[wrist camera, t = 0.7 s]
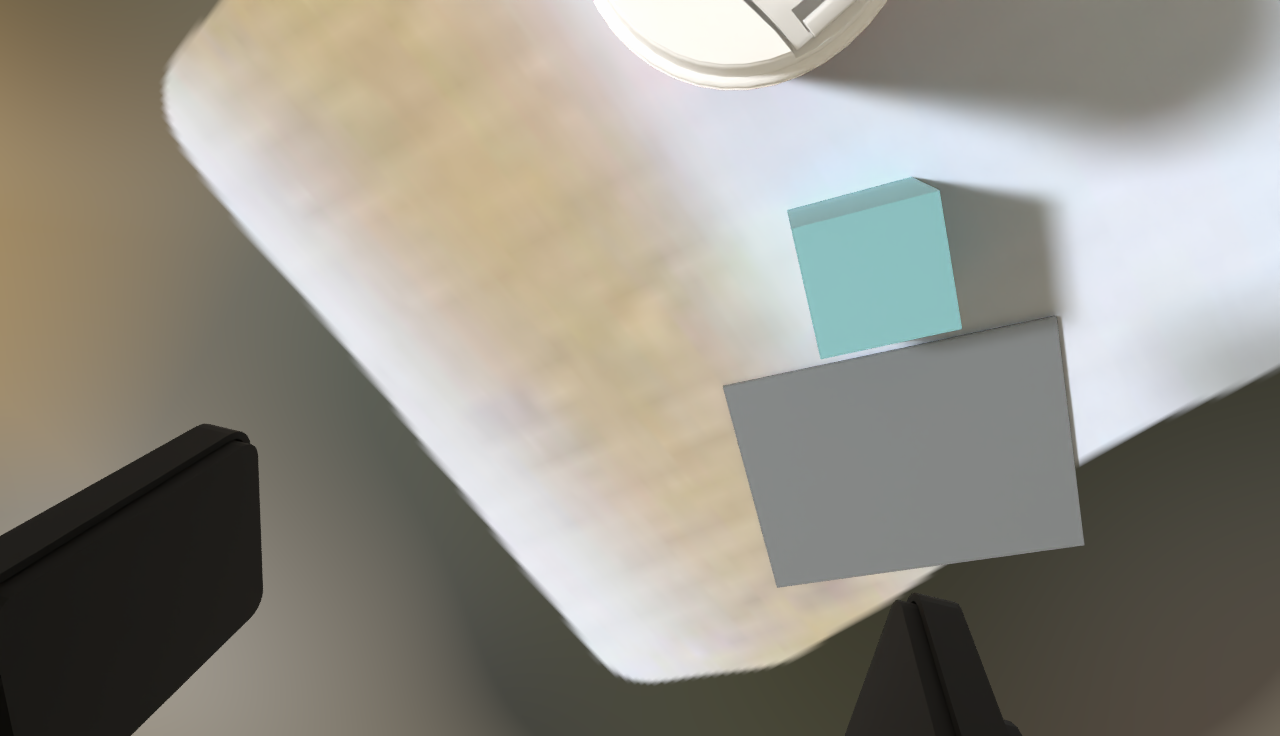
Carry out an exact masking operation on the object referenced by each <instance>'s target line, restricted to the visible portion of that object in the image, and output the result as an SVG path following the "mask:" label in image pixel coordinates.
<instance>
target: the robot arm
mask: <svg viewBox="0 0 1280 736" xmlns="http://www.w3.org/2000/svg"><path fill="white" fill-rule="evenodd" d="M260 526H261V525H260V500H259V471H258V453H257V449H256V448H255V446H253V445H252V444H250V440H249V438H248V437H247V435H246V434H244V433H243V432H240V431H236V430H232V429H227V428H223V427H219V426H215V425H211V424H202V425H199V426H196V427H195V428H193V429H191V430H189V431H187V432H185V433H184V434H182V435H180V436H178V437H177V438H175V439H173V440H171V441H169V442H168V443H166V444H164V445H162V446H160V447H159V448H157V449H155V450H153V451H151V452H150V453H148V454H146V455H144V456H143V457H141V458H139V459H137V460H136V461H134V462H132V463H130V464H128V465H126V466H125V467H123V468H121V469H119V470H118V471H116V472H114V473H112V474H110V475H109V476H107V477H105V478H103V479H101V480H100V481H98V482H96V483H94V484H92V485H91V486H89V487H87V488H85V489H84V490H82V491H80V492H78V493H76V494H75V495H73V496H71V497H69V498H68V499H66V500H64V501H62V502H60V503H58V504H57V505H55V506H53V507H51V508H49V509H48V510H46V511H44V512H43V513H41V514H39V515H37V516H35V517H33V518H32V519H30V520H28V521H26V522H25V523H23V524H21V525H19V526H17V527H16V528H14V529H12V530H10V531H8V532H7V533H5V534H3V535H1V536H0V736H131V735H132V734H133V733H134V732H135V731H136V730H137V729H138V728H139V727H140V726H141V725H142V724H143V723H144V722H145V721H146V720H147V719H148V718H149V717H150V716H151V715H152V714H153V713H154V712H155V711H156V710H157V709H158V708H159V707H160V706H161V705H162V704H163V703H164V702H165V701H166V700H167V699H168V698H170V696H172V695H173V693H174V692H176V691H177V690H178V689H179V688H180V687H181V686H182V685H183V683H185V682H186V681H187V680H188V679H189V678H190V677H191V676H192V675H193V674H194V673H195V672H196V671H197V670H198V669H199V668H200V667H201V666H202V665H203V664H204V663H205V662H206V661H207V660H208V659H209V658H210V657H211V656H212V655H213V654H214V653H215V652H216V651H217V650H218V649H219V648H220V647H221V646H222V645H223V644H224V643H225V642H226V641H227V640H228V639H229V638H230V637H231V636H232V635H233V634H234V633H236V632H237V630H238V629H240V628H241V627H242V626H243V625H244V624H245V623H246V622H247V621H248V620H249V619H250V618H251V617H252V615H253V614H254V613H255V611H256V610H257V608H258V606H259V603H260V602H261V598H262V594H263V580H262V553H261V552H262V551H261V527H260ZM845 736H1022V735H1021V733H1020V731H1019V729H1018V727H1016V726H1015V725H1014V724H1013V723H1012V722H1010V721H1007V720H1003V718H1002V715H1001V712H1000V710H999V707H998V705H997V702H996V699H995V696H994V694H993V691H992V688H991V686H990V683H989V681H988V678H987V675H986V673H985V670H984V667H983V665H982V662H981V659H980V657H979V654H978V651H977V649H976V646H975V644H974V641H973V638H972V636H971V633H970V631H969V628H968V625H967V622H966V620H965V618H964V615H963V612H962V610H961V608H960V606H959V604H957V603H955V602H951V601H947V600H943V599H939V598H935V597H930V596H927V595H922V594H918V593H913V594H911V595H910V596H909V598H908V600H907V602H904V601H901V600H896V601H895V602H894V603H893V605H892V607H891V609H890V612H889V615H888V617H887V620H886V623H885V626H884V629H883V631H882V634H881V637H880V639H879V642H878V645H877V648H876V651H875V654H874V656H873V659H872V662H871V664H870V667H869V670H868V673H867V675H866V678H865V681H864V684H863V686H862V689H861V692H860V695H859V698H858V700H857V703H856V706H855V709H854V711H853V714H852V717H851V720H850V722H849V725H848V728H847V731H846V733H845Z"/></svg>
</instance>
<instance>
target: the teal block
mask: <svg viewBox="0 0 1280 736" xmlns="http://www.w3.org/2000/svg"><path fill="white" fill-rule="evenodd" d="M787 211H788V216H789V221H790V225H791V230H792V234H793V239H794V243H795V248H796V252H797V256H798V261H799V265H800V270H801V274H802V279H803V283H804V287H805V292H806V296H807V301H808V305H809V310H810V314H811V318H812V323H813V327H814V332H815V336H816V341H817V345H818V349H819V354H820V358H821V359H824V358H829V357H834V356H838V355H843V354H848V353H852V352H857V351H862V350H866V349H871V348H876V347H880V346H885V345H890V344H894V343H899V342H904V341H908V340H913V339H918V338H922V337H927V336H932V335H936V334H941V333H946V332H950V331H955V330H960V329H962V325H961V319H960V313H959V307H958V300H957V294H956V288H955V282H954V276H953V270H952V264H951V257H950V251H949V245H948V239H947V233H946V227H945V221H944V214H943V208H942V202H941V196H940V190H938V189H936V188H934V187H932V186H930V185H927V184H925V183H923V182H921V181H919V180H917V179H915V178H913V177H910V178H906V179H902V180H899V181H895V182H891V183H887V184H884V185H880V186H876V187H872V188H869V189H865V190H861V191H857V192H854V193H850V194H846V195H842V196H839V197H835V198H831V199H828V200H824V201H820V202H816V203H813V204H809V205H805V206H801V207H798V208H794V209H790V210H787Z"/></svg>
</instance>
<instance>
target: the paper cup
mask: <svg viewBox="0 0 1280 736" xmlns="http://www.w3.org/2000/svg"><path fill="white" fill-rule="evenodd" d="M593 1H594V3H595V5H596V7H597V9H598V11H599V12H600V14H601V15H602V16H603V18H604V19H605V21H606V22H607V24H608V25H609V27H610V28H611V30H612V31H613V32H614V33H615V34H616V35H617V36H618V38H619V39H620V40H621V41H622V42H623V43H624V44H625V45H626V46H627V47H628V48H629V49H630V50H631V51H632V52H633V53H635V54H636V55H637V56H638V57H640V58H641V59H642V60H644V61H645V62H646V63H647V64H649V65H650V66H652V67H653V68H655V69H657V70H659V71H661V72H663V73H665V74H666V75H668V76H670V77H672V78H674V79H677V80H680V81H683V82H686V83H689V84H692V85H695V86H698V87H705V88H711V89H718V90H751V89H757V88H762V87H768V86H773V85H777V84H779V83H782V82H785V81H788V80H791V79H794V78H796V77H799V76H801V75H803V74H805V73H807V72H809V71H811V70H813V69H814V68H816V67H818V66H820V65H822V64H824V63H825V62H827V61H828V60H829V59H831V58H832V57H833V56H835V55H836V54H837V53H839V52H840V51H841V50H843V49H844V48H845V47H847V46H848V45H849V44H850V43H851V42H852V41H853V40H854V39H855V38H856V37H857V36H858V35H859V34H860V33H861V32H862V31H863V30H864V29H865V28H866V27H867V26H868V25H869V24H870V23H871V22H872V20H873V19H874V18H875V17H876V15H877V14H878V13H879V11H880V10H881V9H882V7H883V6H884V5H885V3H886V2H887V1H888V0H593Z"/></svg>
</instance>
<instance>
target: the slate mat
mask: <svg viewBox="0 0 1280 736" xmlns="http://www.w3.org/2000/svg"><path fill="white" fill-rule="evenodd" d="M723 389H724V393H725V397H726V400H727V404H728V408H729V411H730V415H731V419H732V423H733V426H734V430H735V434H736V437H737V441H738V445H739V448H740V452H741V456H742V460H743V463H744V467H745V471H746V474H747V478H748V482H749V485H750V489H751V493H752V497H753V500H754V504H755V508H756V511H757V515H758V519H759V522H760V526H761V530H762V534H763V537H764V541H765V545H766V548H767V552H768V556H769V559H770V563H771V567H772V571H773V574H774V578H775V582H776V585H777V588H778V587H785V586H793V585H800V584H807V583H814V582H821V581H829V580H836V579H843V578H850V577H858V576H865V575H872V574H879V573H886V572H894V571H901V570H908V569H915V568H922V567H930V566H937V565H944V564H951V563H958V562H965V561H973V560H980V559H987V558H994V557H1002V556H1009V555H1016V554H1023V553H1030V552H1038V551H1044V550H1052V549H1059V548H1067V547H1073V546H1081V545H1084V538H1083V530H1082V522H1081V513H1080V506H1079V497H1078V489H1077V480H1076V472H1075V464H1074V456H1073V447H1072V439H1071V431H1070V423H1069V415H1068V406H1067V398H1066V390H1065V382H1064V374H1063V365H1062V357H1061V349H1060V341H1059V333H1058V324H1057V317H1056V316H1051V317H1046V318H1042V319H1037V320H1032V321H1028V322H1023V323H1018V324H1013V325H1009V326H1004V327H999V328H994V329H990V330H985V331H980V332H975V333H971V334H966V335H961V336H957V337H952V338H947V339H942V340H938V341H933V342H928V343H923V344H919V345H914V346H909V347H905V348H900V349H895V350H890V351H886V352H881V353H876V354H871V355H867V356H862V357H857V358H853V359H848V360H843V361H838V362H834V363H829V364H824V365H819V366H815V367H810V368H805V369H800V370H796V371H791V372H786V373H782V374H777V375H772V376H767V377H763V378H758V379H753V380H748V381H744V382H739V383H734V384H730V385H725V386H723Z"/></svg>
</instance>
